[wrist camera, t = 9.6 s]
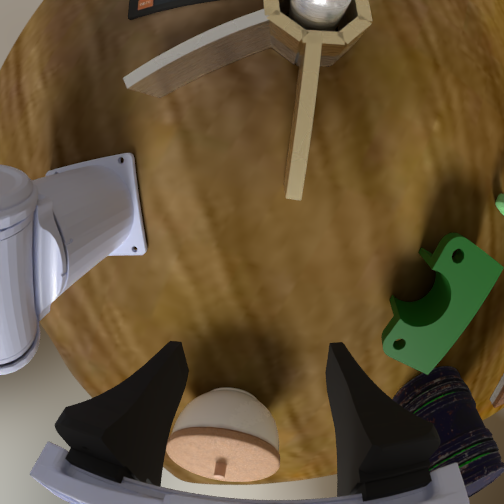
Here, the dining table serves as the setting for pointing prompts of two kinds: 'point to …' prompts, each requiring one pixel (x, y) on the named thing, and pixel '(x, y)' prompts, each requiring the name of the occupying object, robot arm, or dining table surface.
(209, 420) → the lidded jar
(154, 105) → the dining table surface
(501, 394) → the grey boxy piece
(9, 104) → the dining table surface
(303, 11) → the hinge pin
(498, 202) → the wrench
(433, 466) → the storage jar
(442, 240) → the clamp
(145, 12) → the calculator
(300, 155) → the tan ring with arms
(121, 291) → the dining table surface
